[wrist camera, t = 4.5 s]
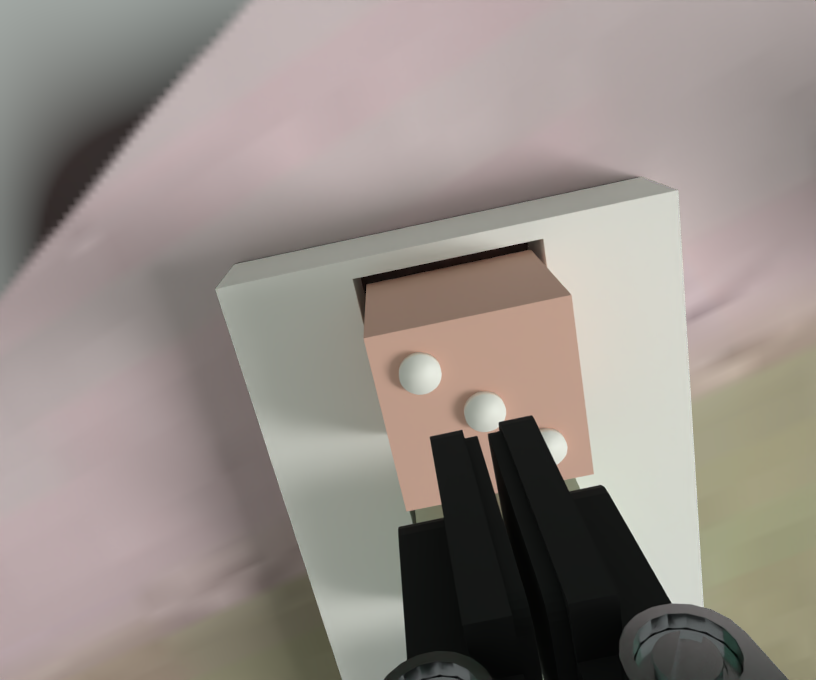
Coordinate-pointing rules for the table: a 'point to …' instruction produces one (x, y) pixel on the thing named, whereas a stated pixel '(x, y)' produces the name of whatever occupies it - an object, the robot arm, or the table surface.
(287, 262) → the board
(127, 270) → the table surface
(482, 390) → the pink three-dot die
